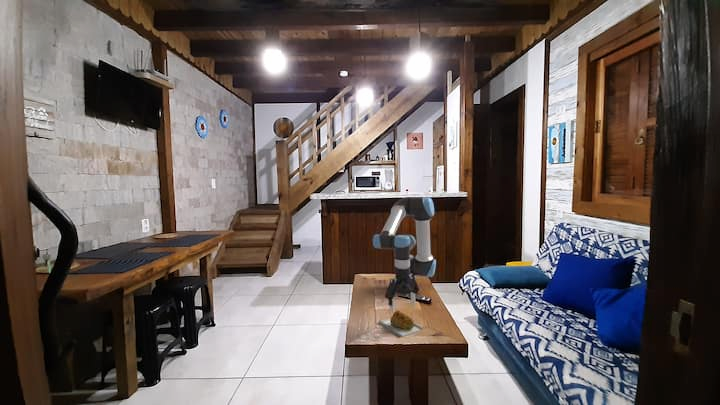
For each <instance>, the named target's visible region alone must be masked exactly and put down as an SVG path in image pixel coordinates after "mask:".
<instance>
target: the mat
mask: <svg viewBox="0 0 720 405" xmlns="http://www.w3.org/2000/svg"><path fill="white" fill-rule="evenodd" d="M390 319H391V317H390V318H386V319H383V320H380V319H379V320H378V324H380V325H381V326H383V327H385V329H387V330H388V331H390V332H392V333H394V334H395V335H396V336H397V337H399V338H402V337H406V336H409V335H411V334H415V333H418V332H420V331H423V327H422V326H420V325H419V324H417V323H415V322H414V327H413V328H410V329H409V328H408V329H402V328H401V327H395V326H391V322H390Z"/></svg>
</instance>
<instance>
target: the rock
mask: <svg viewBox="0 0 720 405" xmlns="http://www.w3.org/2000/svg"><path fill="white" fill-rule="evenodd" d="M390 318H391V319H390ZM390 318H389V319H390V322H391V326H395V327H401V328H402V329H408V328H409V329H410V328H413V327H414V323H415V322H414V319H413V318H412V317H411V316H409V315H407V314H405V313H404V312H402V311H400V310H395V311H394V313H393V314H392V316H390Z"/></svg>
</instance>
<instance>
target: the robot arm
mask: <svg viewBox="0 0 720 405" xmlns="http://www.w3.org/2000/svg"><path fill="white" fill-rule="evenodd" d="M434 215H435V206H434V202H433V199H432V198H431V197H428V196H427V197H425V196H418V197H416V196H413V197H412V196H411V197H410V196H406V197H403V198H401V199H399V200H398V201H397V202H395V203H394V204H393V205H392V207H391V208H390V215H389V216H388V219H387V220H386V222H385V224H384V226H383V228H382V230H381V232H380V234H379V233H378V234H374V235H373V238H372V245H373V248H375V249H380V250H392V251H393V250H394V275H395V277H394V278H393V277H391V278H389V284H388V287H387V290H386V292H385V295H384V298H385V299H387V302H388V303H387V304H388V306H389V311H390V312H391V313H393V314H394V312H395V299H394V298H395V296H396V294H397V293H400V294H401V293H402V294H403V293H404V294H410V305H411V306H413V307H416V299H417V294H418V292H420V288H419V285H418V283H417V280H416V277H423V278H424V277H425V278H433V277H434V275H435V271H436V266H437V260H436V259H435V258H434V256H433V255H432V252H431V251H432V250H431V231H430V230H431V228H430V221H431V220H432V217H434ZM406 216H412V220H414V222H415V232H416V234H415V235H416V238H415V236H413V235H411V234H397V232H398V228H399V226H400V224H401V222H402V220H403V219H404V218H405V217H406ZM396 234H397V235H396ZM415 247H416V252H417V254H416V255H415V257H414V255H412V254H411V250H413V249H414V248H415Z"/></svg>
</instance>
